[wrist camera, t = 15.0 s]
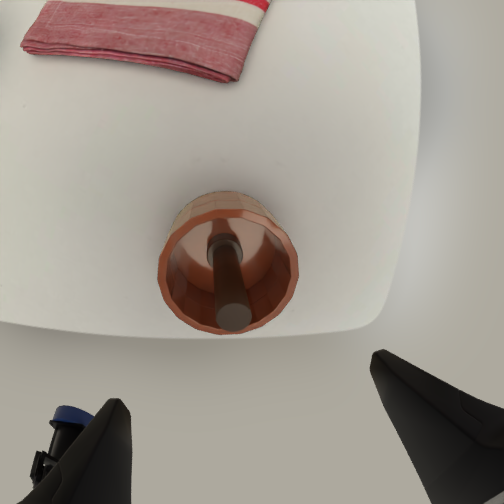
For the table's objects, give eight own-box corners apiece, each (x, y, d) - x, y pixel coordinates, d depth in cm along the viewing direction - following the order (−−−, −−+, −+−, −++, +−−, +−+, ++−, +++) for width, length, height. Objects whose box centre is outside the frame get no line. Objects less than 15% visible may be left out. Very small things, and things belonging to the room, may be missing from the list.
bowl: (183, 302, 22) (179, 343, 17) (157, 202, 18) (140, 224, 14) (283, 284, 22) (301, 321, 18) (272, 181, 19) (292, 196, 14)
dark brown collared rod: (210, 267, 20) (213, 342, 13) (203, 236, 19) (201, 300, 12) (243, 261, 20) (263, 333, 13) (238, 229, 19) (257, 290, 12)
